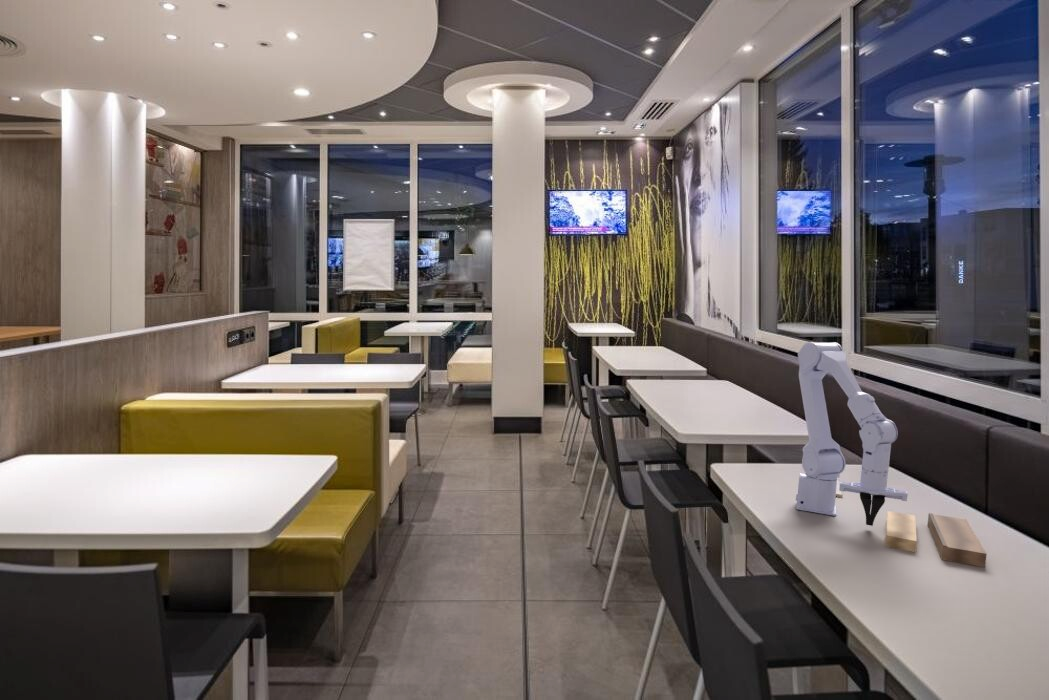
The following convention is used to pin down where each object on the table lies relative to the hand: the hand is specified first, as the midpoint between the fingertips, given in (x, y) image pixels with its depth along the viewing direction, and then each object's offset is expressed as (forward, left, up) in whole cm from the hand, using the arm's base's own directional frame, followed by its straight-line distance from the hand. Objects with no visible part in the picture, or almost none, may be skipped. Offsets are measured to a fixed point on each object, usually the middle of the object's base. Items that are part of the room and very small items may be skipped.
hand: (869, 524), depth 164 cm
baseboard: (-11, +40, -2) cm, 41 cm away
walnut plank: (+18, 0, -1) cm, 18 cm away
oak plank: (+7, 0, -2) cm, 7 cm away
